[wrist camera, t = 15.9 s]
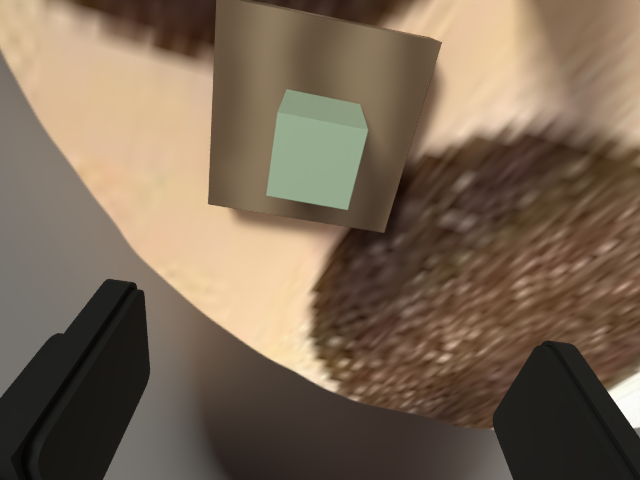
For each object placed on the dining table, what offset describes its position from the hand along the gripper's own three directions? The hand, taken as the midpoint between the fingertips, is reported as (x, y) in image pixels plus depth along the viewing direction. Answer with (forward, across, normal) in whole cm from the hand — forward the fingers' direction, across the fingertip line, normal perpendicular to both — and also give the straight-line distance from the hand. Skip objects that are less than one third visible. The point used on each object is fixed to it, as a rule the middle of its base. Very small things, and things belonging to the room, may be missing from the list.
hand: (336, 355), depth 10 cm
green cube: (+21, +1, +1) cm, 21 cm away
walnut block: (+25, +1, +1) cm, 25 cm away
